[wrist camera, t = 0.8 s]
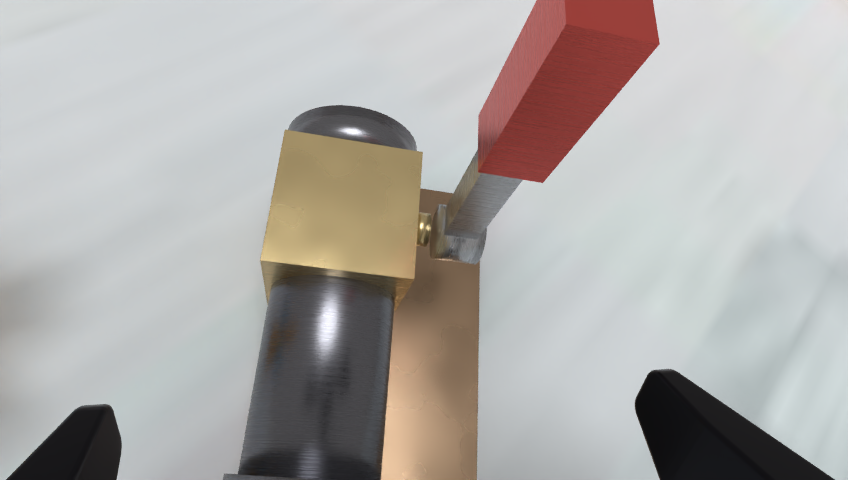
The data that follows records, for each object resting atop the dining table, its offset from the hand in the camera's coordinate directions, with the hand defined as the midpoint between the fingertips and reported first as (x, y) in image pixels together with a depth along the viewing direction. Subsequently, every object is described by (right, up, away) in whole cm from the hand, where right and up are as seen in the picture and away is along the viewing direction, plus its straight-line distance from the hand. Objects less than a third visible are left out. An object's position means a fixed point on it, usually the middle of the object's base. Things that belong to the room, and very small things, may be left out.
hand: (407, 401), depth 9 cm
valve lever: (+1, +3, +11) cm, 11 cm away
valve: (-2, -2, +14) cm, 15 cm away
